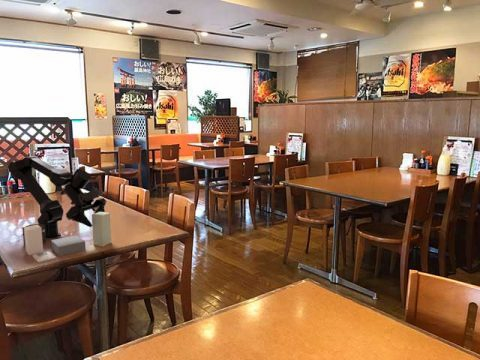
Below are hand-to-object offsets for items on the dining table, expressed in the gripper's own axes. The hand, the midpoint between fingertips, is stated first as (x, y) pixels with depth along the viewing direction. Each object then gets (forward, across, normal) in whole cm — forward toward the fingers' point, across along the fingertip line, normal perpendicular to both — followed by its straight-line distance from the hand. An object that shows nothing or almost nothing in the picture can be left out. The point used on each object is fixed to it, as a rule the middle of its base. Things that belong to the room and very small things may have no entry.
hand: (99, 223), depth 159 cm
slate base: (+2, -11, +11) cm, 15 cm away
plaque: (0, -21, +12) cm, 24 cm away
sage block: (+7, 0, +5) cm, 9 cm away
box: (-13, -9, +25) cm, 29 cm away
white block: (-6, -18, +18) cm, 26 cm away
